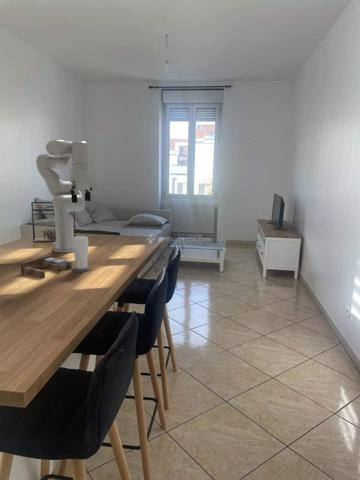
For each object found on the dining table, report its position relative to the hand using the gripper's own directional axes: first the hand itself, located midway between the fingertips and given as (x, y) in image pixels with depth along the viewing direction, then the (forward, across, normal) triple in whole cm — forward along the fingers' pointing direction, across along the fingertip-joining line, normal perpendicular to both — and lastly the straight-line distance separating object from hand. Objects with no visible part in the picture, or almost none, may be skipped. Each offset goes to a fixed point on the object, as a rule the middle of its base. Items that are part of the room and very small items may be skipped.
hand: (81, 201), depth 178 cm
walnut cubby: (+30, +23, -1) cm, 38 cm away
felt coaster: (+30, +14, +10) cm, 35 cm away
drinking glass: (+30, +13, +10) cm, 34 cm away
